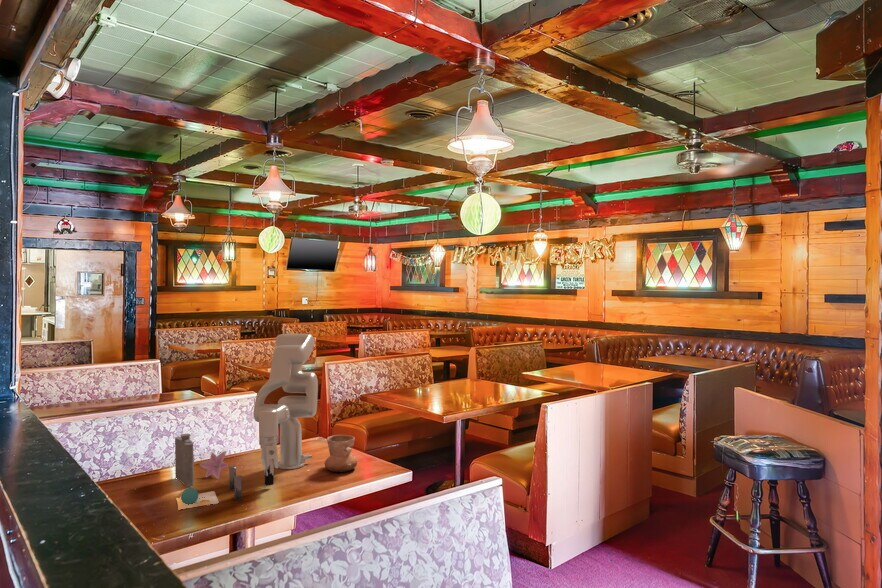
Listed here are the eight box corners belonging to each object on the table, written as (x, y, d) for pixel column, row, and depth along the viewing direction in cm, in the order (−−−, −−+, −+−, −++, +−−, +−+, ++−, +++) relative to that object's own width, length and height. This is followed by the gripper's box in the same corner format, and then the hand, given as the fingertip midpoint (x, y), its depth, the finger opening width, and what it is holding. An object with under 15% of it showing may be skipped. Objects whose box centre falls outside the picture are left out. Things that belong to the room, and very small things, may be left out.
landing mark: (214, 491, 226) (214, 491, 226) (218, 503, 214) (218, 502, 214) (175, 498, 219) (175, 497, 219) (178, 510, 207) (178, 510, 207)
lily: (198, 476, 247) (193, 461, 242) (221, 460, 255) (217, 444, 251) (215, 490, 241) (210, 474, 236) (238, 472, 250) (234, 457, 245)
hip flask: (174, 478, 242) (173, 431, 242) (184, 476, 245) (183, 429, 245) (186, 488, 230) (186, 439, 230) (197, 485, 233) (196, 437, 233)
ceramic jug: (364, 471, 250) (364, 438, 250) (334, 477, 242) (334, 444, 242) (345, 461, 265) (345, 431, 265) (316, 467, 256) (316, 436, 256)
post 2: (241, 497, 219) (240, 474, 219) (242, 500, 217) (242, 476, 217) (234, 499, 218) (233, 475, 218) (235, 501, 216) (234, 477, 216)
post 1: (235, 487, 231) (235, 465, 231) (236, 489, 229) (236, 467, 228) (228, 488, 230) (228, 466, 229) (229, 490, 227) (229, 468, 227)
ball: (177, 501, 214) (193, 503, 217) (180, 505, 209) (196, 507, 212) (182, 484, 215) (198, 487, 218) (185, 488, 210) (202, 490, 213)
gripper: (282, 442, 225) (282, 488, 225) (274, 434, 238) (274, 477, 238) (263, 445, 221) (263, 492, 221) (255, 436, 234) (256, 480, 234)
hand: (269, 484), depth 230 cm, fingers closed
